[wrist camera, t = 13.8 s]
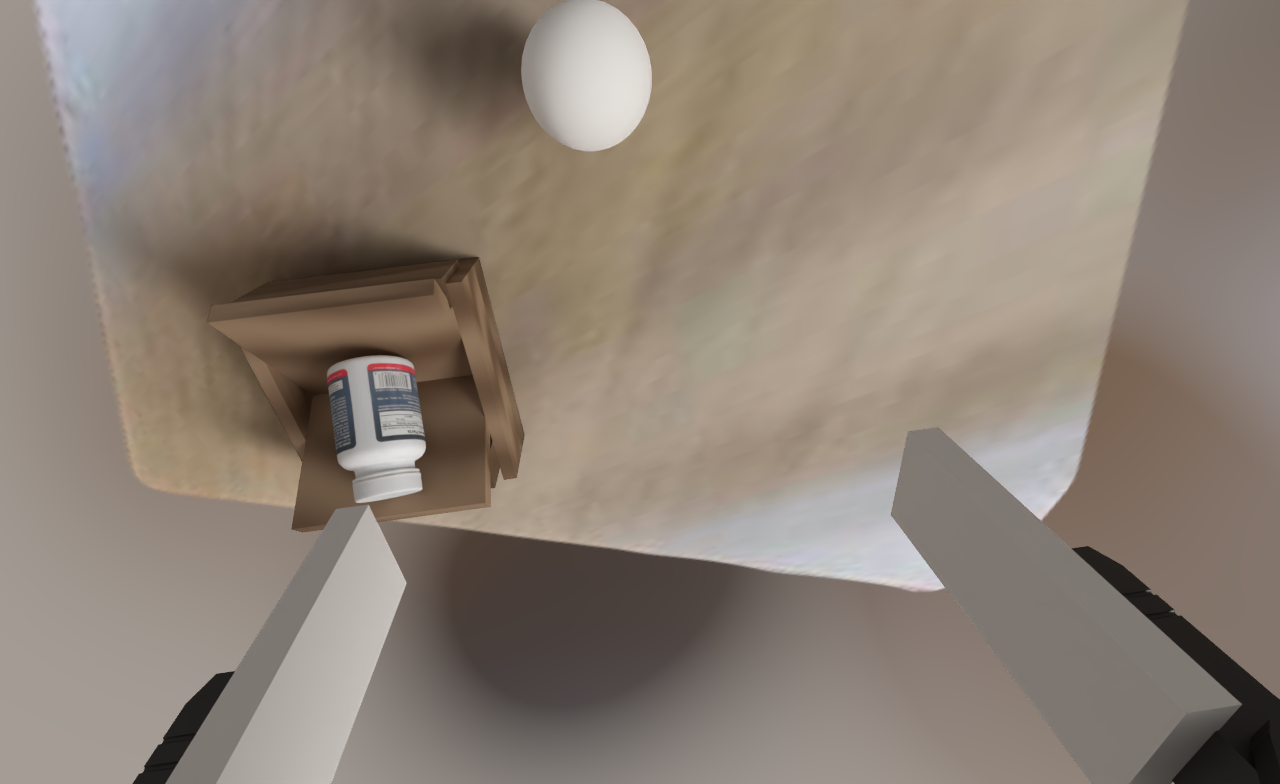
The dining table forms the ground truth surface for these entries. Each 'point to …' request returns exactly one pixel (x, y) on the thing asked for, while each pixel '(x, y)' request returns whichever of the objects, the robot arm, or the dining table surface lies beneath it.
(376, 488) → the pill bottle
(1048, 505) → the dining table surface
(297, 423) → the wooden box with flaps
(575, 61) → the light bulb
